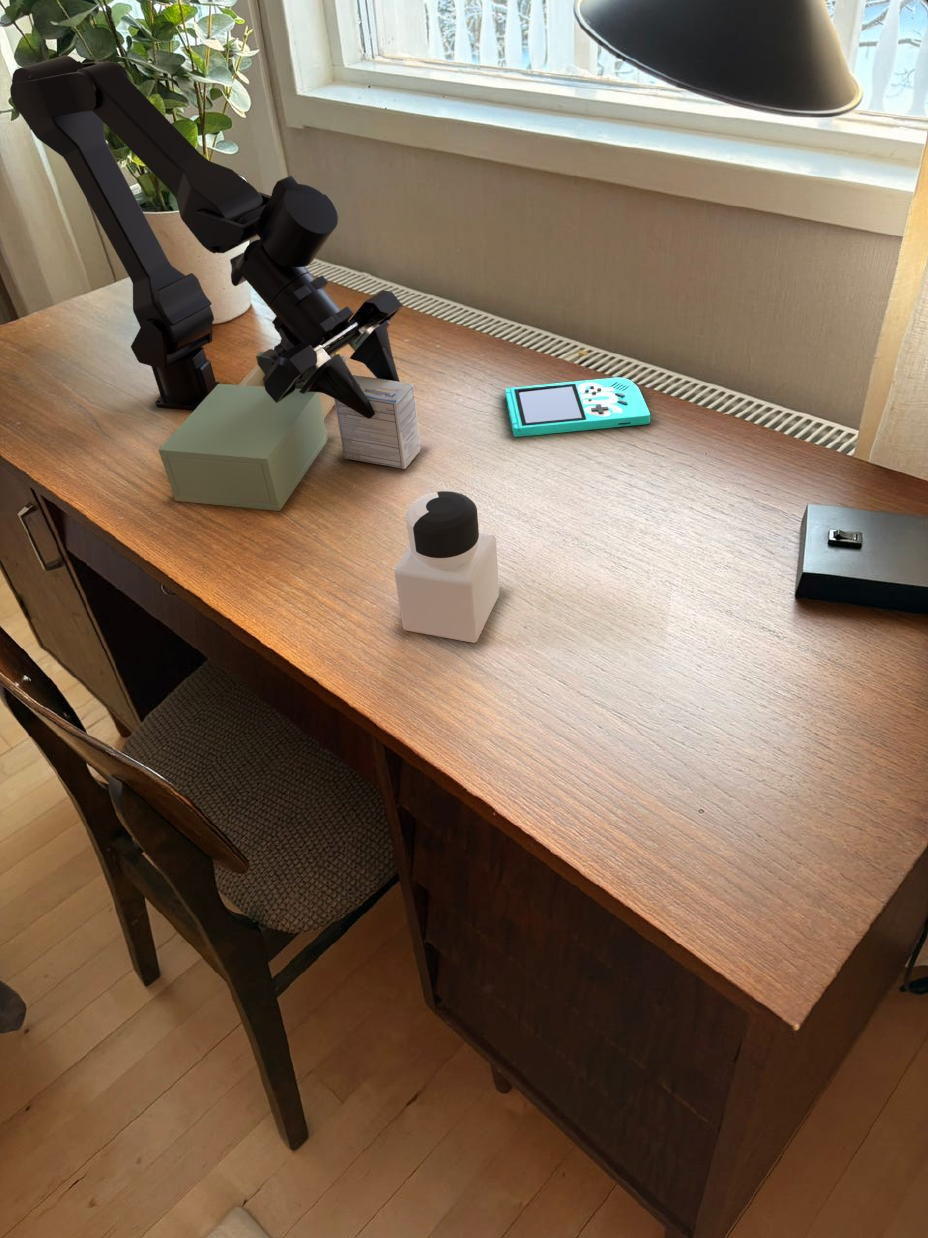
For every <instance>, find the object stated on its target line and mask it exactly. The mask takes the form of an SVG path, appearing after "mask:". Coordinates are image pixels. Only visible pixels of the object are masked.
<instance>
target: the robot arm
mask: <svg viewBox="0 0 928 1238" xmlns="http://www.w3.org/2000/svg"><path fill="white" fill-rule="evenodd" d="M9 91H10V92H9V93H10V97H11V101H12V104H13V105H14V107H15V109H16V110H17V112H18V113H19V114H20V116H21V117H22V118H23V119H24V121H25V123H26V125H27V126H28V127H29V128H30V130H31V132H32V133H33V135H34V137H36V139H37V140H39V141H40V142H42V143H43V144H45V146H47V147H48V148H50V149H51V150H53V151H54V152H55V153H56V154H58V155H59V156H61V157H62V158H63V159H64V161H65V162H66V164H67V166H68V168H69V170H70V171H71V173H72V175H73V177H74V179H75V180H76V182H77V184H78V186H79V188H80V189H81V191H82V194H83V195H84V197H85V199H86V201H87V203H88V204H89V206H90V208H91V210H92V211H93V213H94V215H95V217H96V219H97V221H98V222H99V225H100V226H101V228H102V230H103V231H104V233H105V235H106V237H107V239H108V240H109V242H110V244H111V246H112V248H113V250H114V251H115V254H116V255H117V257H118V258H119V260H120V262H121V264H122V266H123V268H124V269H125V271H126V274H127V275H128V277H129V279H130V281H131V283H132V312H133V313H134V316H135V318H136V321H137V323H138V325H139V330H138V332H137V334H136V336H135V337H134V339H133V341H132V343H131V345H130V349H131V351H132V352H133V354H134V356H135V358H136V360H137V361H138V363H140V364H143V365H146V366H149V367H151V370H152V374H153V377H154V379H155V383H156V385H157V389H158V392H159V395H160V396H159V398H157V399H156V400H155V401H154V404H155V406H156V407H157V408H171V409H172V408H173V409H185V410H195V409H196V408H197V407H198V406H199V405H200V403H201V402H202V401H203V400H204V399H205V398H206V397H207V396H208V395H209V394H210V392H211V391H212V390H213V389H214V388H215V387H216V386H217V385H218V384H221V382H220V381H216V378H215V374H214V370H213V367H212V362H211V360H210V359H207V355H206V352H205V348H204V346H205V345H207V344H211V343H212V342H213V323H214V321H215V317H214V312H213V309H212V307H211V305H212V301H210V299H209V297H207V295H206V293H205V292H204V290H203V288H202V285H201V283H200V280H199V278H198V276H196V275H195V274H194V273H193V272H192V273H191V272H190V273H188V274H187V275H186V274H185V273H183V272H181V271H180V270H179V269H177V268H176V267H174V266H173V265H172V263H170V261H169V258H168V256H167V255H166V253H165V251H164V249H163V247H162V245H161V243H160V241H159V240H158V238H157V235H156V234H155V232H154V230H153V228H152V227H151V225H150V222H149V221H148V219H147V217H146V215H145V213H144V212H143V211H144V210H143V209H142V207H141V206H140V203H139V202H138V200H137V197H136V196H135V194H134V192H133V190H132V189H131V187H130V184H129V183H128V180H127V179H126V177H125V175H124V173H123V171H122V170H121V167H120V166H119V164H118V162H117V160H116V158H115V156H114V154H113V152H112V150H111V149H110V147H109V144H108V143H107V139H106V135H105V133H106V132H105V126H107V128H108V129H109V130H110V131H111V132H112V133H114V135H115V136H116V137H117V138H118V139H119V140H120V141H121V142H122V143H123V144H124V146H126V147H127V149H129V150H130V152H132V153H133V154H134V155H135V156H136V157H137V158H138V160H140V162H142V163H143V165H144V166H145V167H146V168H147V169H149V171H150V172H151V173H152V174H153V175H154V176H155V177H156V178H157V179H158V180H159V181H160V182H161V183H162V184H163V185H164V186H165V188H166V189H168V190H169V192H170V193H171V195H172V196H173V197H174V198H175V200H176V205H177V208H178V213H179V216H180V220H182V222H183V223H184V225H185V226H186V227H187V228H188V229H189V231H190V232H191V233H192V235H193V236H194V237H195V238H196V240H197V241H198V243H199V244H201V246H202V247H203V248H204V249H206V251H208V252H210V253H212V254H225V253H227V252H230V251H232V250H233V249H235V248H236V247H239V246H241V245H243V244H245V243H247V242H249V241H251V240H253V239H255V238H256V237H259V239H255V240H253V241H251V242H250V243H249V244H248V245H247V246H246V248H245V249H244V251H243V252H241V253H240V254H237V255H236V256H233V257H232V258H230V259H229V262H230V265H231V272H230V281H231V285H233V286H234V287H238V286H239V285H241V284H243V283H245V282H247V283H248V284H249V286H251V288H252V289H253V290H254V292H256V294H257V295H258V296H259V297H260V298H261V300H262V301H263V302H264V303H265V305H267V307H268V308H269V309H270V310H271V312H272V313H273V314H274V315H275V317H274V319H272V321H271V323H272V324H273V327H274V330H275V331H276V332H277V333H278V335H279V336H280V341H279V343H278V344H277V345H275V346H274V348H269V349H267V350H265V351H263V352H264V353H262V354H261V355H259V359H258V365H259V367H260V368H261V369H262V371H263V372H264V374H265V376H264V378H263V381H264V386H265V390H266V392H267V393H268V394H269V395H270V396H271V398H272V399H273V400H274V401H275V402H276V403H278V402H279V401H281V400H282V399H284V398H285V397H287V396H288V395H290V394H291V393H293V392H294V390H295V386H296V387H298V386H300V385H301V384H302V383H303V385H304V386H303V388H302V389H301V390H300V391H299V392H300V393H302V394H305V393H306V392H320V393H324V394H326V395H328V396H330V397H332V398H334V399H336V400H338V401H339V402H341V403H343V404H344V405H346V406H348V407H349V408H351V409H353V410H354V411H356V412H358V413H359V414H361V415H363V416H364V417H366V418H368V419H370V418H372V417H373V416H374V415H375V412H374V410H373V408H372V406H371V404H370V402H369V400H368V399H367V397H366V395H365V394H364V392H363V391H362V389H361V388H360V386H359V384H358V383H357V381H356V380H355V378H354V377H353V375H354V374H353V373H352V372H351V371H350V370H351V369H349V367H348V365H347V363H346V364H345V362H344V361H343V359H342V358H341V354H340V355H339V353H338V354H337V355H335V356H334V357H332V358H330V356H331V355H333V354H334V353H336V352H337V351H339V350H342V349H344V348H345V347H346V346H348V345H349V347H350V348H351V349H352V350H353V353H352V354H351V355H350V357H349V359H350V360H352V361H356V362H359V363H361V364H364V365H365V367H366V368H367V369H368V370H369V371H370V372H371V374H372V375H374V376H373V377H374V378H378V379H385V380H391V381H397V382H401V381H400V379H399V375H398V371H397V367H396V363H395V361H394V355H393V352H392V347H391V342H390V338H389V330H388V328H389V327H390V326H391V323H390V322H391V321H392V319H394V318H395V316H396V315H397V314H398V313H399V311H400V310H401V309H402V308H403V307H404V304H403V303H402V302H401V301H400V300H399V299H398V297H397V296H396V294H394V292H393V291H390V290H385V289H381V290H380V291H379V292H378V293H375V294H374V295H373V296H371V297H370V298H369V299H366V300H365V301H364V302H363V303H362V304H361V305H360V306H359V308H358V309H357V310H356V311H355V312H354V311H352V308H350V307H349V305H347V306H345V307H344V308H342V309H341V308H340V307H339V306H338V305H337V303H336V302H335V301H334V300H333V298H331V296H330V295H329V293H328V292H326V290H325V288H326V287H327V285H328V284H329V281H328V280H327V279H326V277H325V276H324V275H323V274H321V275H320V276H318V277H316V278H315V277H314V276H313V274H312V273H311V272H310V271H309V270H308V268H307V266H309V265H311V263H312V262H313V261H314V260H315V259H316V257H317V256H318V254H319V253H320V251H321V250H322V248H323V247H324V246H325V244H326V243H327V241H328V240H329V239H330V237H331V235H332V234H333V233H334V231H335V230H336V228H337V226H338V223H339V214H338V210H337V208H336V205H335V204H334V202H333V201H332V199H331V198H330V197H329V196H328V195H327V194H325V193H323V192H321V191H320V190H319V189H317V188H315V187H313V186H310V185H307V184H303V183H298V181H297V180H296V179H295V178H294V177H293V175H288V176H285V177H284V178H281V179H279V180H277V181H276V183H275V185H274V186H273V189H272V191H271V195H269V194H266V193H264V192H260V191H258V190H257V189H256V188H255V187H254V186H253V185H252V184H251V183H249V182H248V181H247V180H246V179H244V178H243V177H242V176H241V175H240V174H238V173H237V172H235V170H233V169H231V168H229V167H226V166H224V165H221V164H218V163H215V162H213V161H210V160H209V159H208V158H206V156H204V155H203V154H201V153H200V152H199V150H197V149H196V148H195V146H194V145H193V144H192V143H191V142H190V141H189V140H188V139H187V138H186V137H185V136H184V135H183V134H182V133H181V132H180V131H179V130H178V129H177V128H176V126H174V124H173V123H171V122H170V121H169V119H168V118H166V116H164V114H163V113H162V112H161V111H160V110H159V109H158V108H157V107H156V105H154V104H153V103H152V102H151V101H150V100H149V98H148V97H147V96H145V94H143V93H142V92H141V90H140V89H139V88H138V87H137V86H136V85H135V84H134V83H133V82H132V81H131V78H130V76H129V73H128V71H127V70H126V69H125V67H124V65H122V64H121V63H120V62H117V61H111V60H105V61H102V62H101V61H91V62H81V61H80V60H77V59H75V58H73V57H72V56H70V55H66V54H64V55H60V56H57V57H54V58H50V59H46V60H43V61H40V62H36V63H32V64H29V65H25V66H22V67H18V68H16V69H14V71H13V73H12V77H11V85H10V88H9ZM326 347H328V348H326Z"/></svg>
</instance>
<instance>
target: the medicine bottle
mask: <svg viewBox="0 0 928 1238" xmlns="http://www.w3.org/2000/svg"><path fill="white" fill-rule="evenodd" d="M405 519H406V528H407V535H408V543H409V546H408V547H407V549H406V551H405V552H404V554H403V556H401V559H400V560H399V562H398V564H397V565H396V566H395V568H394V580H395V586H396V592H397V598H398V606H399V611H400V617H401V623H402V625H401V626H402V629H403V630H404V631H406V632H407V631H408V632H412V633H418V634H423V635H428V636H434V637H440V638H446V639H451V640H454V641H455V640H456V641H461V642H468V643H473V644H476V643H477V642H478V640H479V638H480V636H481V634H482V632H483V629H484V628H485V626H486V624H487V622H488V619H489V617H490V615H491V612H492V611H493V609H494V607H495V605H496V602H497V600H498V599H499V596H500V581H499V566H498V565H499V564H498V550H497V548H498V547H497V536H495V534H492V533H485V532H480V530H479V528H480V527H479V515H478V507H477V505H476V504H475V502H474V501H473V500H472V499H471V498H469V497H468V496H467V495H464V494H463V493H460V492H456V491H451V490H449V491H448V490H441V491H434V492H429V493H426V494H424V495H422V496H419V497H418V498H417V499H415V500H414V501H413V502H412V503H411V504H410V505H409V507H408V508H407V510H406V513H405Z"/></svg>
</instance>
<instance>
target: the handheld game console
mask: <svg viewBox="0 0 928 1238" xmlns="http://www.w3.org/2000/svg"><path fill="white" fill-rule="evenodd" d="M504 394H505V402H506V407H507V412H508V416H509V420H510V421H509V422H510V426H511V430H512V431H511V432H512V435H513V437H514V438H515V437H516V438H519V437H529V436H539V435H540V436H541V435H550V434H559V433H570V432H580V431H581V432H582V431H590V430H601V429H611V428H621V427H631V426H641V425H649V424H650V422H651V413H650V411H649V408H648V406H647V403H646V401H645V398H644V397H643V394H642V392H641V390H640V389H639V387H638V385H637V384H636V383H634V381H632V380H630V379H629V378H625V377H607V378H596V379H588V380H578V381H576V380H575V381H566V382H556V383H547V384H535V385H526V386H519V387H518V386H515V387H508V388H505V393H504Z"/></svg>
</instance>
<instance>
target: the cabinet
mask: <svg viewBox="0 0 928 1238" xmlns="http://www.w3.org/2000/svg"><path fill="white" fill-rule="evenodd" d="M300 390H301V389H295V390H294V392H293V393H291V394H290V395H288V396H287V397H285V398H284V399H282V400H281V401H279V402H278V403H276V402H275V401H274V400H273V399H272V398H271V396H270V395H269V394H268V393H267V392H266V390H265V387H261V386H246V385H238V384H231V383H230V384H229V383H220V384H218V385H217V386H216V387H215V388H214V389H213V390H212V391H211V392H210V394H209V395H208V396H207V397H206V398H205V399H204V400H203V401H202V402H201V403H200V405H199V406H198V407H197V408H196V409H193V411H192V412H191V413H190V415H188V416H187V417H186V419H185V420H184V421H182V423H181V424H180V425H179V427H177V428H176V430H175V431H174V432H173V433H172V434H171V435H170V436H169V437H168V438H167V439H166V440H165V442H164V443H163V444H162V445H161V446H160V447H159V448H158V454H159V455H160V459H161V461H162V465H163V468H164V470H165V471H164V472H165V474H166V477H167V480H168V483H169V486H170V489H171V491H172V495H173V498H174V501H175V502H183V503H193V504H203V505H214V506H224V507H233V508H245V509H254V510H264V511H265V510H266V511H272V512H273V511H274V512H275V511H276V512H280V511H281V510H282V509H283V507H284V505H285V504H286V503H287V501H288V500H289V498H290V496H291V495H292V494H293V492H294V491H295V489H296V488H297V486H298V485H299V484H300V482H301V480H303V478H304V476H305V475H306V473H307V472H308V471H309V469H310V468H311V466H312V465H313V463H314V461H315V460H316V458H317V457H318V455H319V454H320V453H321V452H322V450H323V448H324V447H325V446H326V444H327V442H328V441H329V440H328V434H327V428H326V425H325V424H326V423H325V418H323V413H322V408H321V403H320V397H319V392H306V393H305V394H302V393H300V392H299V391H300Z"/></svg>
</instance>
